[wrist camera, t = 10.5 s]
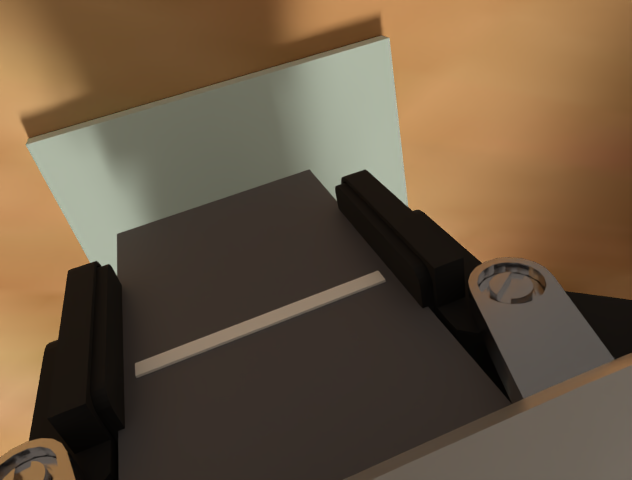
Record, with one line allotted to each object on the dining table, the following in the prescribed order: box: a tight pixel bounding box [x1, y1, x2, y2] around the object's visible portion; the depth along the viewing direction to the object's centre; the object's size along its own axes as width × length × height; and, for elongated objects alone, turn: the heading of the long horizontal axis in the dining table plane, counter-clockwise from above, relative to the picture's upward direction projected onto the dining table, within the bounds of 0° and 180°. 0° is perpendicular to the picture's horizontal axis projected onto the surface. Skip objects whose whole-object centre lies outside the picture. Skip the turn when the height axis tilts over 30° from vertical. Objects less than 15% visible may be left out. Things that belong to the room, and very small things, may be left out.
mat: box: [26, 35, 408, 275], centre depth 21 cm, size 10×27×1 cm, turn 12°
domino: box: [117, 169, 511, 480], centre depth 9 cm, size 2×5×10 cm, turn 102°
